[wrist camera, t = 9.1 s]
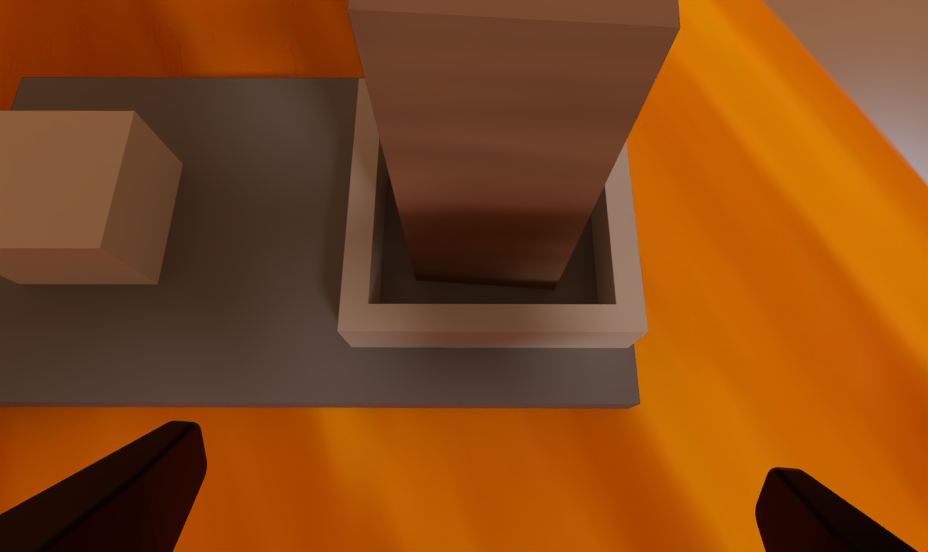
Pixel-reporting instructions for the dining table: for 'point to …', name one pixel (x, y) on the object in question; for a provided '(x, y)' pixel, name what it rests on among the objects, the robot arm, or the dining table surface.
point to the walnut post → (505, 122)
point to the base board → (271, 263)
